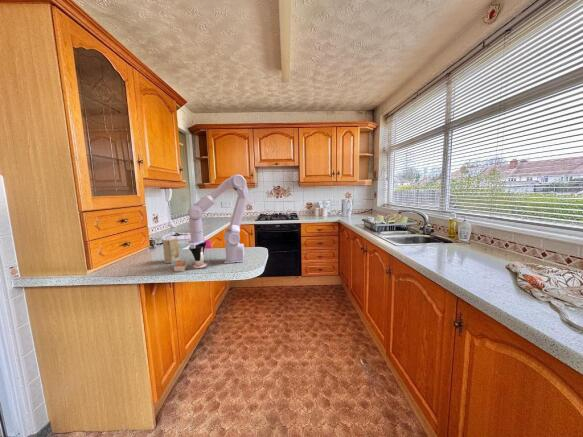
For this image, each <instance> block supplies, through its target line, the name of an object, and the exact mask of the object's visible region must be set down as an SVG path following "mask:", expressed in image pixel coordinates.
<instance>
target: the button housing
mask: <svg viewBox="0 0 583 437" xmlns="http://www.w3.org/2000/svg"><path fill="white" fill-rule="evenodd" d="M187 268H188V263H186V262H185V265H184V266H176V265H175V266H174V268H173V269H174V272H185V271H186V270H187Z"/></svg>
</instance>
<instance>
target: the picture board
mask: <svg viewBox="0 0 583 437" xmlns="http://www.w3.org/2000/svg"><path fill="white" fill-rule="evenodd" d="M212 263H213V260H204V264H201V265H195V261H193V262H192V263H191V264H189V266H187V269H186V270H203V269H205V270H206V269H207V268H208V267H209V266H210V265H211V264H212Z"/></svg>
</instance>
